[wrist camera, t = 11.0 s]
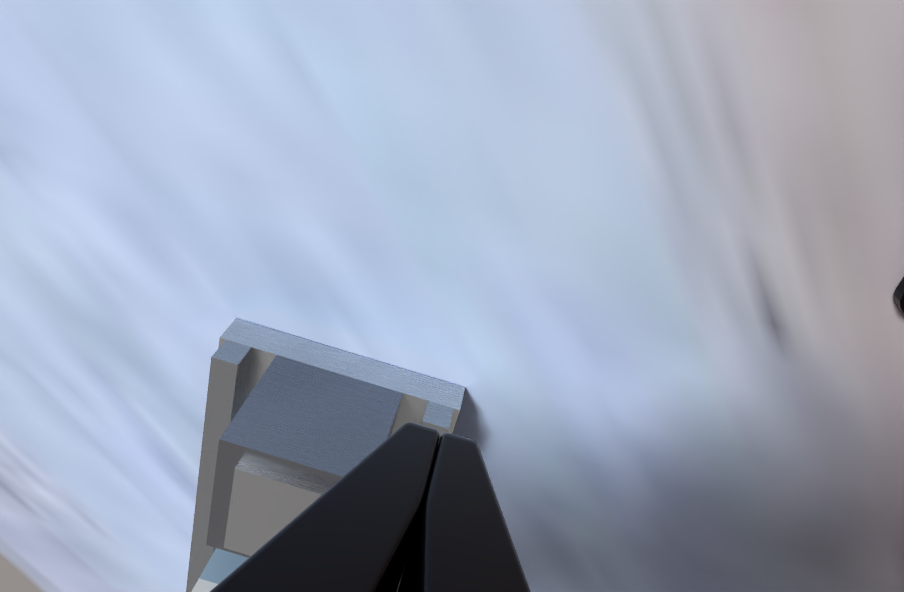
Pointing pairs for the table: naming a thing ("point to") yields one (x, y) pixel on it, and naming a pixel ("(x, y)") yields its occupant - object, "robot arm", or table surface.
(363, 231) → the table surface
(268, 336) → the din rail
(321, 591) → the robot arm
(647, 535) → the table surface
